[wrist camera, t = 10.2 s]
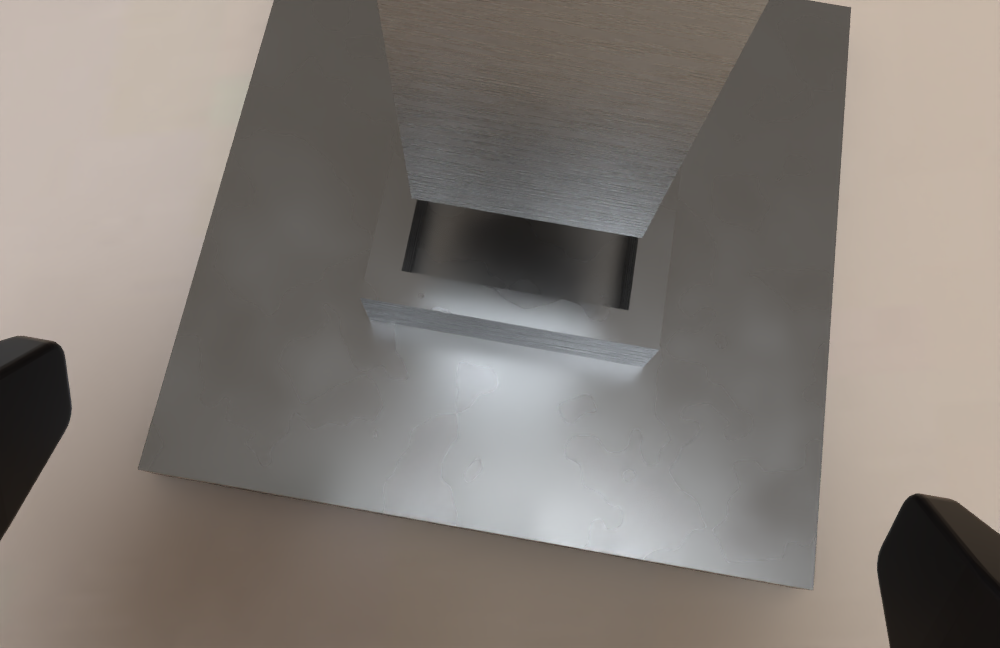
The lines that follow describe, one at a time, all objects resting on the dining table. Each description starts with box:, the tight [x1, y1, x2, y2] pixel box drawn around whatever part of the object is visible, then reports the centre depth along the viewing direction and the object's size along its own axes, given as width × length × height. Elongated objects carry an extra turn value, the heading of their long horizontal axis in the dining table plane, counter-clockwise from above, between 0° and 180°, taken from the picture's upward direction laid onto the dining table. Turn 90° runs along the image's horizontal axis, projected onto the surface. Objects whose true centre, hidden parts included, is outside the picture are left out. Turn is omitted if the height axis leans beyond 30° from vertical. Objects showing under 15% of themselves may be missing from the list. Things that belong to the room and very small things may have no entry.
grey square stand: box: [138, 0, 851, 590], centre depth 13 cm, size 16×16×18 cm
